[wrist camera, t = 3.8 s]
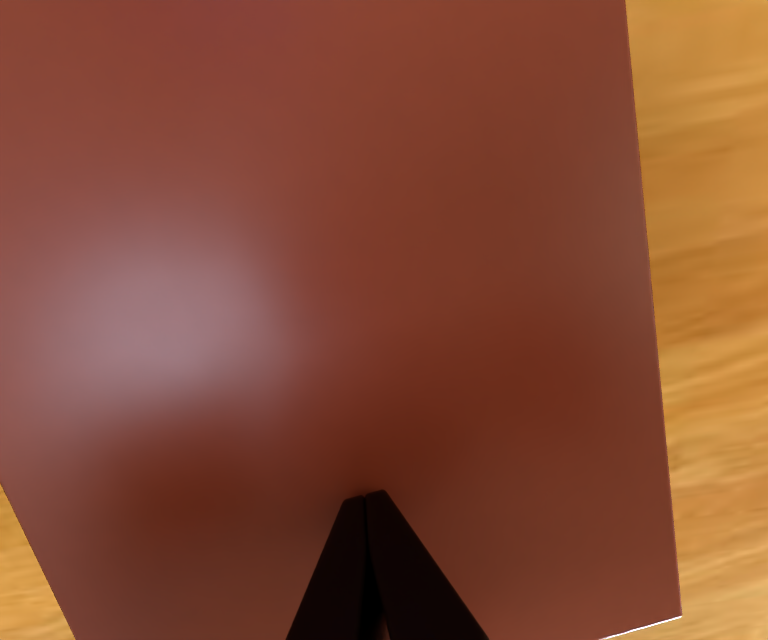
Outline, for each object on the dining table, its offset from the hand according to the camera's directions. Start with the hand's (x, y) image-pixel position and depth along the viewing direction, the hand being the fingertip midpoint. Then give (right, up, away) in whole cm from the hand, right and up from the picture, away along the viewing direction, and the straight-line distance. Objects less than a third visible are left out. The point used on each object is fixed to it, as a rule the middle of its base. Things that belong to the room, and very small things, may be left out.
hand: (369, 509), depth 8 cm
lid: (-1, +3, 0) cm, 3 cm away
